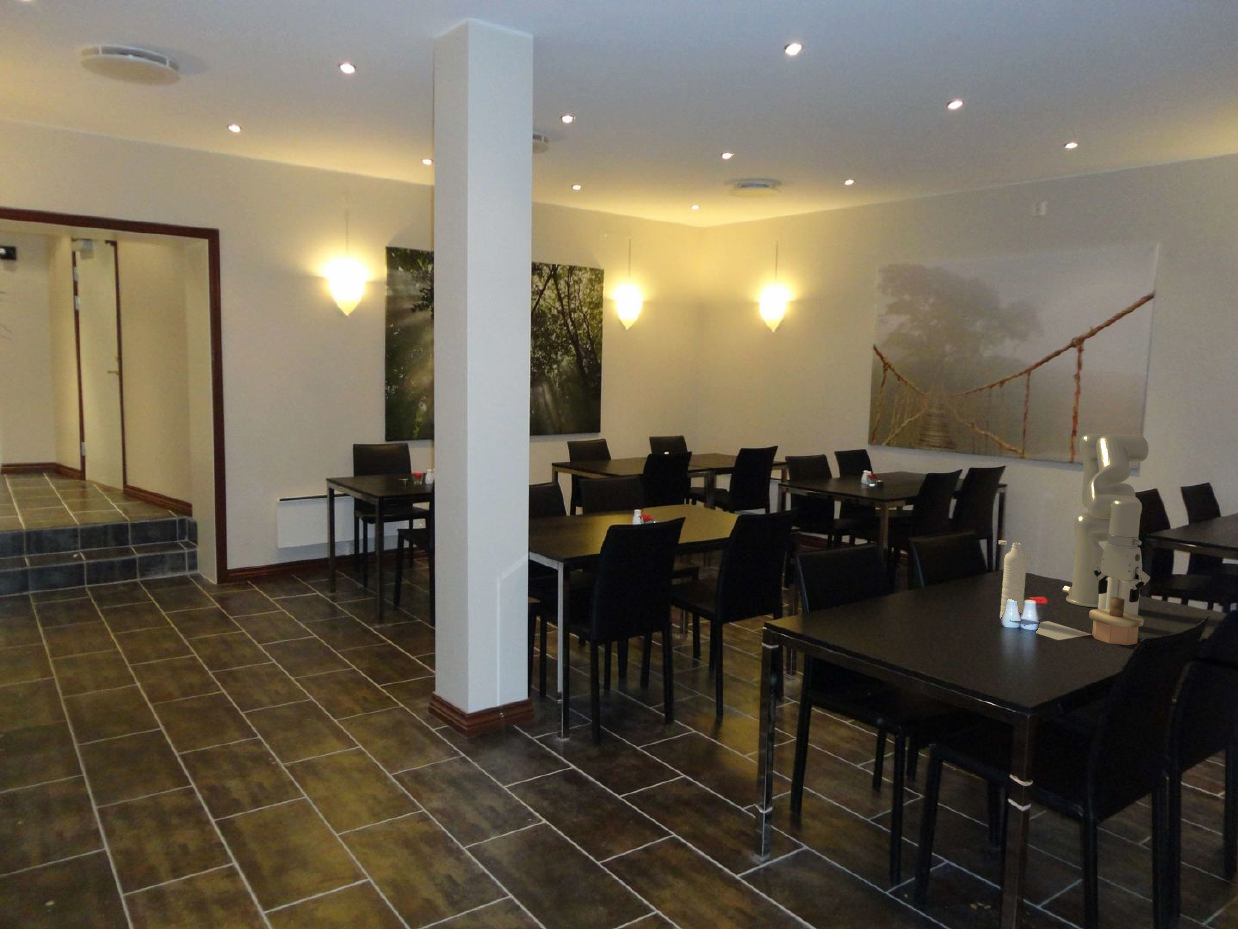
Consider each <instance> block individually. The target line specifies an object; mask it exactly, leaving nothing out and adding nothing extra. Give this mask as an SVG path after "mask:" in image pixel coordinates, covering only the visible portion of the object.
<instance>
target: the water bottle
mask: <svg viewBox="0 0 1238 929" xmlns="http://www.w3.org/2000/svg"><path fill="white" fill-rule="evenodd" d="M998 545H1002V546H1003V545H1004V546H1005V545H1008V541H1007V540H998ZM1027 560H1028V559H1027V556H1026V554H1025V553H1024V551H1023V549H1022V544H1021V543H1020V542H1013V543H1012V545H1011V548H1010V549H1009V550H1008V552H1007V553H1006V554H1005V556H1004V561H1003V575H1002V577H1003V578H1002V588H1001V600H1000V603H1001V605H1000V613H999V618H1000V619H1001V617H1002V615H1003V613H1004V611H1005V608H1006V601H1007V600H1008V599H1012V600H1014V601H1017V603H1018V608H1019V612H1020V613H1022V614H1023V612H1024V601H1025V587H1026V574H1027V572H1026V571H1027V564H1028V561H1027Z"/></svg>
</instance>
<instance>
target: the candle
mask: <svg viewBox="0 0 1238 929" xmlns="http://www.w3.org/2000/svg"><path fill="white" fill-rule="evenodd" d="M1106 580H1108V586H1107V593H1104V594H1099V602H1098V607H1097V609H1110V601H1111V598H1112V597H1116V598H1122V599H1124V600H1125V602H1124V611H1125V612H1129V613H1133V614H1136V615H1139V603H1140V598H1139V599H1138V601H1137V602H1133V603H1131V602H1129V596H1130V589H1132V587H1131V585H1130V583H1129V582H1128V581H1123V580H1119V579H1115V578H1111V577H1108V578H1107V579H1106ZM1141 580H1142V578H1141V579H1140V580H1139V582H1141ZM1140 592H1141V591H1140ZM1140 592H1139V595H1141V593H1140Z"/></svg>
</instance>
